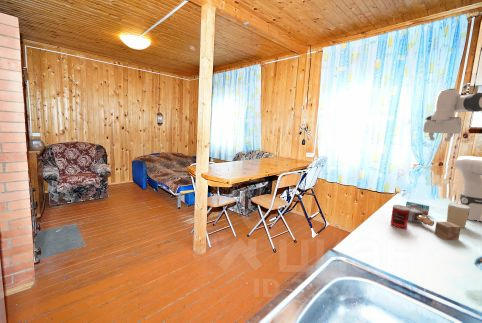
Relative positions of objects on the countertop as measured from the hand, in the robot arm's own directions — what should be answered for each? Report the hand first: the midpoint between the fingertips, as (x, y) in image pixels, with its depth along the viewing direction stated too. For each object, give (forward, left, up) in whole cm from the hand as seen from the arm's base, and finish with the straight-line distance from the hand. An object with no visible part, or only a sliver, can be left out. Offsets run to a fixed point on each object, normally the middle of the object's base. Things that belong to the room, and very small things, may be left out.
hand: (439, 140), depth 136 cm
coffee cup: (-7, +12, -48) cm, 50 cm away
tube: (+14, +9, -47) cm, 49 cm away
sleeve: (+14, +5, -48) cm, 50 cm away
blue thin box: (-1, -8, -48) cm, 49 cm away
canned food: (+29, +12, -48) cm, 58 cm away
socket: (+14, +25, -48) cm, 56 cm away
